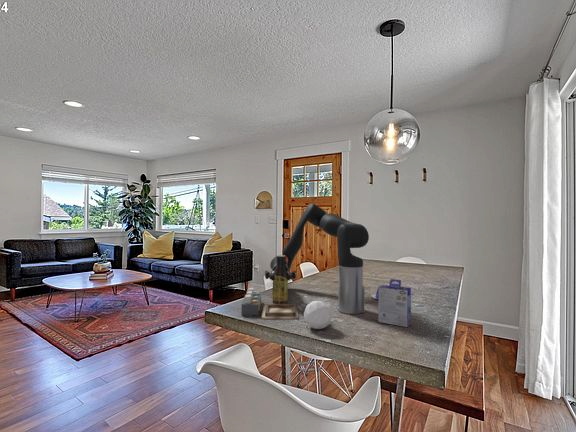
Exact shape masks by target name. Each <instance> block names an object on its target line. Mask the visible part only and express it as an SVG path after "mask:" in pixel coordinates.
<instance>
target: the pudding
mask: <svg viewBox="0 0 576 432" xmlns="http://www.w3.org/2000/svg"><path fill="white" fill-rule="evenodd" d="M380 286H381V285H379V286H378V287H377V290H376V293H374V294H371V295H370V298H372V299H375V300H379V287H380Z"/></svg>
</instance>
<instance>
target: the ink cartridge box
mask: <svg viewBox="0 0 576 432" xmlns="http://www.w3.org/2000/svg"><path fill="white" fill-rule="evenodd" d="M393 282H396V283H393ZM401 284H402V280H401V279H394V278H393V279H392V278H391V279H390V281H389V285H387V284H382V285H379V286H380V287H379V286H378V287H379V299H378V303H377V304H378V305H377V306H378V307H377V309H378V312H377V313H378V314H377V315H378V316H377V317H378V318H377V322H378V323H382V324H389V325H393V326H394V325H395V326H398V327H403V328H404V327H405V328H408V327H409V326H410V325H411V324H412V305H411V304H412V297H411V296H412V287H408V286H406V287H405V286H402V285H401Z"/></svg>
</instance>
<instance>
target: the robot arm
mask: <svg viewBox="0 0 576 432" xmlns="http://www.w3.org/2000/svg"><path fill="white" fill-rule="evenodd" d="M307 222H309V223H310V224H312V225H313V226H314V227H317V228H320V229H321V230H322V231H323V232H324V233H326V234H328V235H330V236H331V237H336V243H337V244H336V245H337V259H338V260H337V261H338V291H337V292H338V293H337V294H338V296H337V297H338V300H337V301H338V306H337V307H338V311H339V312H340V313H343V314H350V315H356V314H361V313H362V314H364V313H365V287H364V260H363V258H361V257H359V256H356V255H354V254H353V253H352V251H351V249H358V248H359V249H360V248H364V247H366V245H367V244H368V243H369V240H370V239H369V238H370V236H369V235H370V234H369V231H368V229H367V228H366V227H365V226H364V225H362V224H360V223H355V222H352V221H349V220H347V219H345V218H343V217H341V216H339V215H337V214H334V213H328V212H326V211H325V210H324V209H323V208H322V207H319V206H318V205H317V204H316V203H310V204H308V205H307V206H306V208H305V209H304V211H303V212H302V214H301V217H300V218H299V221H298V222H297V225H296V226H295V229H294V231H293V233H292V235H291V236H290V238H289V240H288V241H287V243H286V244H285V246H284V248H283V249H282V254H283V255H284V256H286V259H287V261H285V265H286V266H285V267H286V270H287V272H288V282H289V281H290V280H292V279H293V280H296V278H297V270H293V271H291V268H292V264H293V261H294V259H295V257H296V256H297V254H298V253H299V251H300V249H301V248H302V246H303V242H304V231H305V226H306V224H307ZM276 264H277V259H276V256H274V257H273V258H272V259H271V261H270V264H269V268H270V269H271V271H268V270H264V278H265V280H268V279H269V280H271V281H272V282H273V275H274V270H275V268H276Z"/></svg>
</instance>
